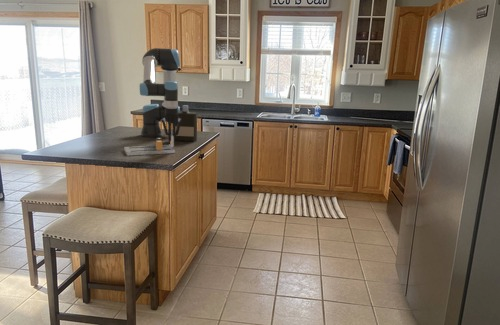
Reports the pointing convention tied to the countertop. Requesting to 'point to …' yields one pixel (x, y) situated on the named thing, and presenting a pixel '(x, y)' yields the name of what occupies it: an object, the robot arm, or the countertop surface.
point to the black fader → (158, 139)
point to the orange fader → (159, 145)
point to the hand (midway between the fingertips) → (171, 146)
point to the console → (148, 150)
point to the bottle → (187, 126)
